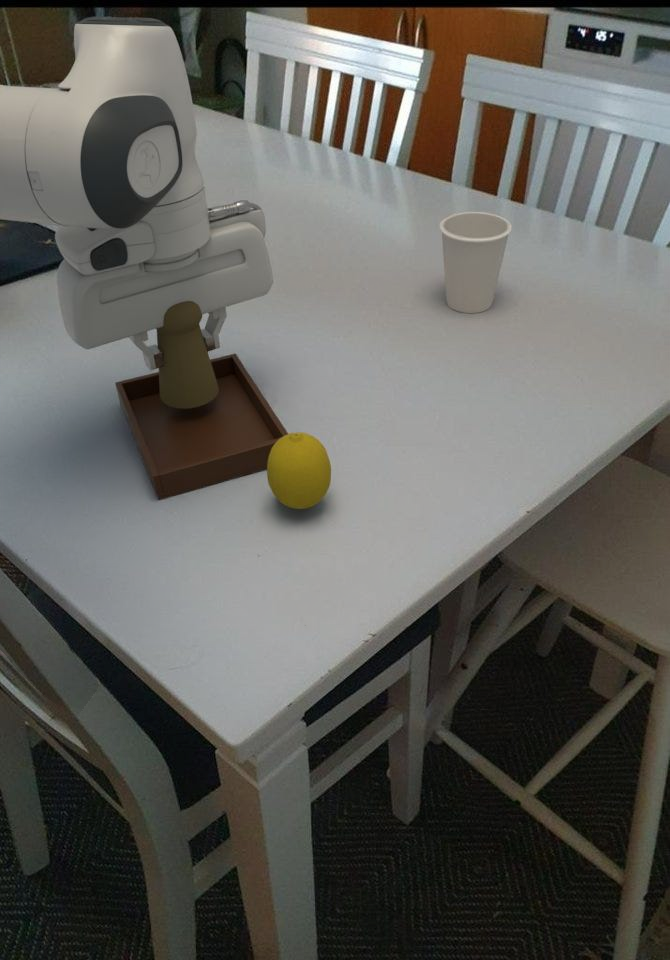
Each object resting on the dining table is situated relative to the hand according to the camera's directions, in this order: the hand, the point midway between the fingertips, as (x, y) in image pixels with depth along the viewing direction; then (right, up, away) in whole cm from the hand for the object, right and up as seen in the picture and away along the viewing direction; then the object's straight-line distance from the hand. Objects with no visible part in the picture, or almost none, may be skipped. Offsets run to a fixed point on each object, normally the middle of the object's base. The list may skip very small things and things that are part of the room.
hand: (182, 357), depth 80 cm
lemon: (+12, -15, -8) cm, 21 cm away
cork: (0, -3, +3) cm, 4 cm away
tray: (+2, -7, +1) cm, 8 cm away
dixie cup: (+32, +10, +21) cm, 39 cm away
